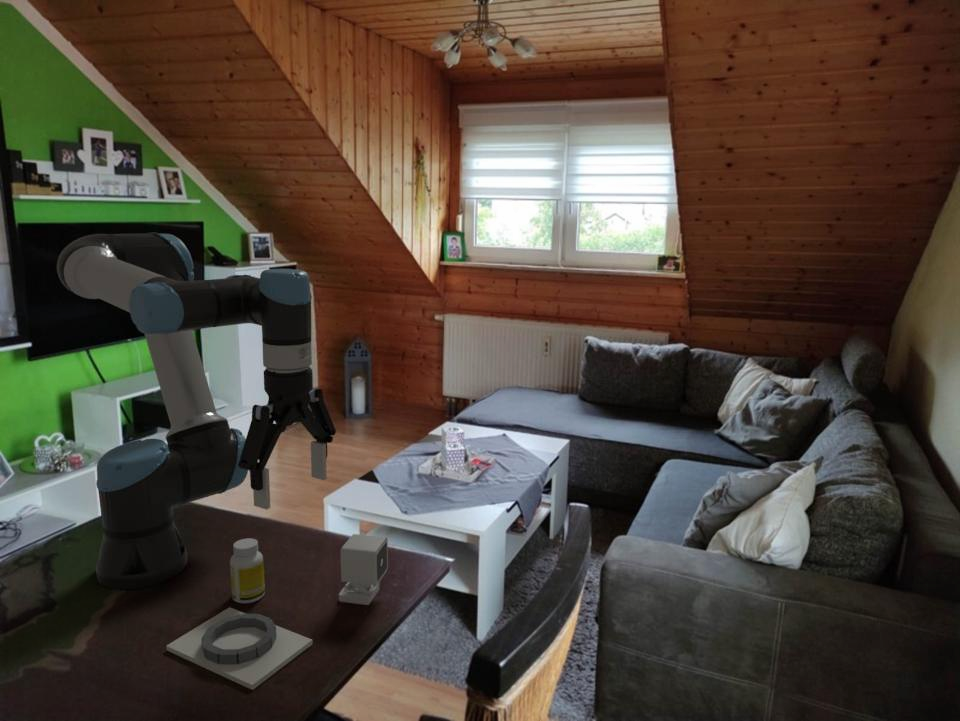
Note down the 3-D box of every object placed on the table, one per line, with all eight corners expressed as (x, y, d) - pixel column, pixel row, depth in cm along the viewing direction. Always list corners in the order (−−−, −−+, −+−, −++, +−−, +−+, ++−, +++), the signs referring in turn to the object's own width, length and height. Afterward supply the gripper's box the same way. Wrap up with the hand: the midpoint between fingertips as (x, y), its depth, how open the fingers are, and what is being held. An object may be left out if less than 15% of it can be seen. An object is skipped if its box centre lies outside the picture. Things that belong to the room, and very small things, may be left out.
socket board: (166, 650, 104) (165, 636, 104) (229, 611, 115) (228, 598, 114) (252, 690, 96) (251, 674, 95) (312, 644, 106) (311, 630, 106)
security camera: (376, 607, 116) (375, 552, 114) (337, 602, 118) (335, 548, 115) (388, 588, 122) (387, 535, 120) (351, 583, 124) (349, 531, 122)
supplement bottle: (272, 592, 121) (268, 540, 119) (249, 607, 116) (246, 553, 114) (248, 585, 123) (244, 533, 121) (225, 600, 118) (221, 546, 116)
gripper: (246, 388, 98) (253, 526, 102) (355, 356, 119) (356, 471, 124) (208, 380, 101) (216, 515, 106) (320, 350, 123) (323, 463, 127)
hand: (292, 491), depth 115 cm, fingers open, 13 cm apart
